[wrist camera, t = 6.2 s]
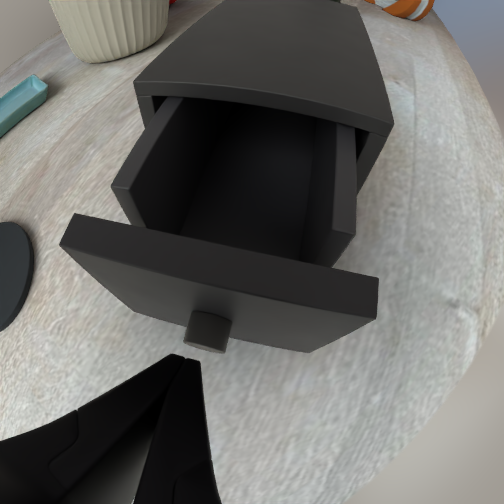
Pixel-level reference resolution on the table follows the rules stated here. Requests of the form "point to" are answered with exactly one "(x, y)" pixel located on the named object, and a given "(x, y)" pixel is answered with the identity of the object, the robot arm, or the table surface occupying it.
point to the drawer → (234, 227)
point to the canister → (110, 26)
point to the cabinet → (279, 67)
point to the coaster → (14, 270)
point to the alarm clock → (405, 7)
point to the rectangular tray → (21, 102)
